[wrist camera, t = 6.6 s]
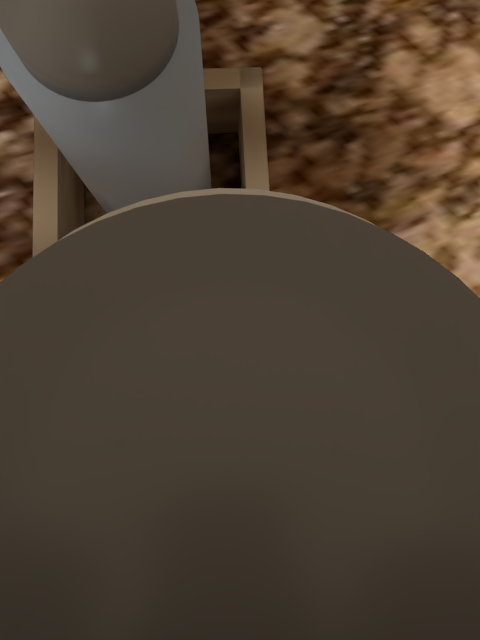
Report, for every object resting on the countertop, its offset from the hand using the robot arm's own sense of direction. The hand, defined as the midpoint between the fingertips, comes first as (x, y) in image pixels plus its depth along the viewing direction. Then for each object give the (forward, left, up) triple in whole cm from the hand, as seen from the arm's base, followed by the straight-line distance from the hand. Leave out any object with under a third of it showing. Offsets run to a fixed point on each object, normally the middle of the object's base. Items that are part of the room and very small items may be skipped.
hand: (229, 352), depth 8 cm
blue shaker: (+7, -5, -13) cm, 15 cm away
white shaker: (-1, +1, -7) cm, 7 cm away
